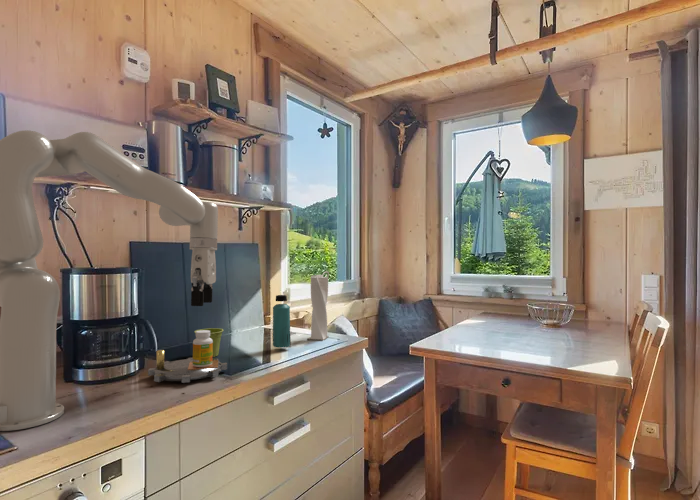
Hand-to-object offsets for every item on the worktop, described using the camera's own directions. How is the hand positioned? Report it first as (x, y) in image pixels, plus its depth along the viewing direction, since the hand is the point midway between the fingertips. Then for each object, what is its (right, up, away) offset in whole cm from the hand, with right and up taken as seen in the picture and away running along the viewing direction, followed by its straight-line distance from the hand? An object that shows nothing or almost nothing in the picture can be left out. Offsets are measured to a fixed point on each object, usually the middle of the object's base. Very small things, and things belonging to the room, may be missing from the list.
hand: (202, 304), depth 117 cm
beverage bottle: (+18, -21, +31) cm, 42 cm away
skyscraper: (+30, -21, +51) cm, 63 cm away
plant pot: (-6, -21, +22) cm, 31 cm away
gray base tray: (-4, -20, 0) cm, 21 cm away
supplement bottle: (0, -18, 0) cm, 18 cm away
